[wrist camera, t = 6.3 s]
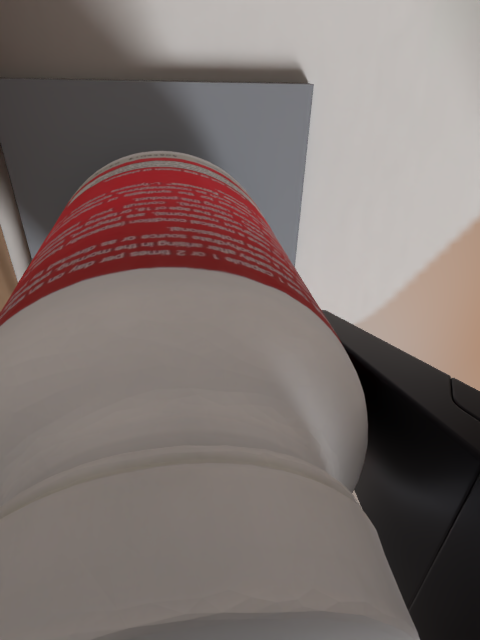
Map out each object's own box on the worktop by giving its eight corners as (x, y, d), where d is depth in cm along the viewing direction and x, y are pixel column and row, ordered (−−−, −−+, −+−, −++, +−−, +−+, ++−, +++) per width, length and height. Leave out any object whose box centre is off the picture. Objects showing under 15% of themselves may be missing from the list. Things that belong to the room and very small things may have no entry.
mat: (309, 83, 12) (313, 84, 12) (285, 330, 17) (287, 336, 17) (-12, 77, 11) (-17, 78, 11) (59, 346, 16) (57, 352, 16)
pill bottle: (19, 187, 11) (-624, 782, 2) (233, 115, 11) (576, 404, 2) (118, 355, 15) (43, 858, 5) (282, 302, 15) (488, 725, 5)
